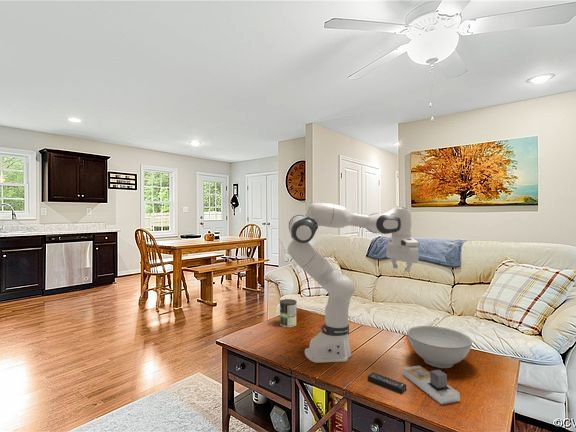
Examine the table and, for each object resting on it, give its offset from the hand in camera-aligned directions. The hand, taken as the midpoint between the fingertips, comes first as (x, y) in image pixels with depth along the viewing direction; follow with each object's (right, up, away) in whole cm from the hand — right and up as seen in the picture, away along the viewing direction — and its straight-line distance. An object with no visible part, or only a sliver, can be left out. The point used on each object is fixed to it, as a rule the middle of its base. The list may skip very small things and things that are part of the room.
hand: (401, 269), depth 155 cm
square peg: (+3, -41, -33) cm, 53 cm away
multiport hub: (-15, -42, -27) cm, 52 cm away
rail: (+1, -41, -28) cm, 50 cm away
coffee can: (-54, -41, +43) cm, 80 cm away
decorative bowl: (+15, -41, -7) cm, 44 cm away
